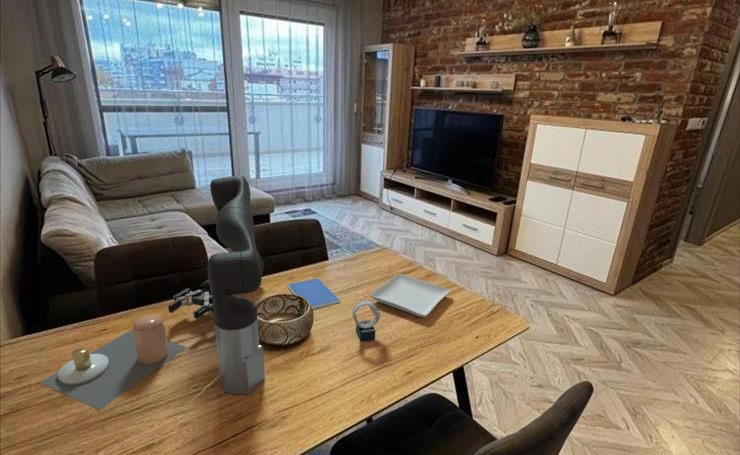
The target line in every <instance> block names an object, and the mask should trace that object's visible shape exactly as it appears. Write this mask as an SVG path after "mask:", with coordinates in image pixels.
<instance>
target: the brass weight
mask: <svg viewBox="0 0 740 455" xmlns="http://www.w3.org/2000/svg"><path fill="white" fill-rule="evenodd" d="M89 354H90V351H89V348H88V347H86V346H85V347H84V346H83V347H79V348H76V349H75V350H73V351H72V352H71V356H72V360H73V361H74V365H75V369H76V371H84V370H87V369H89V368H90V367H91V366H92V364H91V359H90V355H89Z"/></svg>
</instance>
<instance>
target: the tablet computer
mask: <svg viewBox="0 0 740 455" xmlns="http://www.w3.org/2000/svg"><path fill="white" fill-rule="evenodd" d="M286 287H287V288H288V290H289V291H290V292H291V294H293V296H294V295H297V296H301V297H303V298H304V299H306V300H307V301H308V302H309V304H310V305H311V307H312V308H313V310H315V309H320V308H324V307H328V306H332V305H336V304H340V303H341V299H340V298H339V297H338V296H337V295H336V294H335V293H334V292H333V291H332V290H331V289H330V288H329V287H328V286H327V285H326V284H325V283H324V282H323V281H322V280H321V279H320V278H318V277H317V278H316V277H315V278H312V279H308V280H303V281H297V282H292V283H288V284H287V285H286Z"/></svg>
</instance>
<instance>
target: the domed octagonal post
mask: <svg viewBox="0 0 740 455" xmlns="http://www.w3.org/2000/svg"><path fill="white" fill-rule="evenodd" d="M132 329H133V333H134V338H135V344H136V349H137V355H138V360H139V361H140V362H142V363H145V364H150V363H155V362H159V361H161V360H162V359H164V358H165V357H166V356H168V343H167V341H168V338H167V330H166V324H165V318H164V317H163V316H162V315H161V314H160V313H149V314H145V315H141V316H139V317H138V318H136V319H135V320H134V321H133V322H132Z"/></svg>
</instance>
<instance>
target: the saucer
mask: <svg viewBox="0 0 740 455" xmlns="http://www.w3.org/2000/svg"><path fill="white" fill-rule="evenodd" d="M89 355H90V359H91V364H92V366H91V367H90V368H89V369H87V370H84V371H76V369H75V365H74V361H73V359H71V360H69V361H68V362H66V363H65V364H64V365H62V366H61V368H60V369H59V370H58V371H57V372H58V378H59V381H60V382H61V383H63V384H66V385H76V384H81V383H85V382H88V381H91V380H93V379H95V378H97V377H98V376H100V375H101V374H103V373H104V372H105V371H106V370H107V368H108V366H109V361H108V358H107V357H106V356H105V355H102V354H90V353H89Z"/></svg>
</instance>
